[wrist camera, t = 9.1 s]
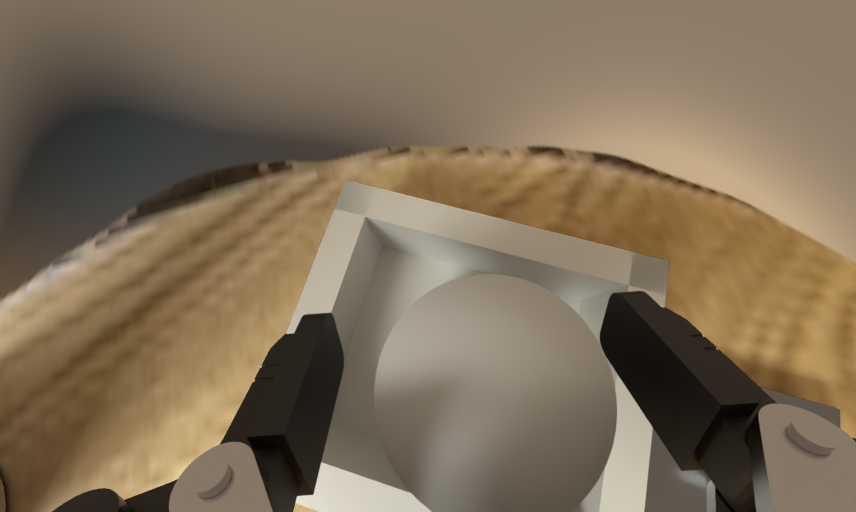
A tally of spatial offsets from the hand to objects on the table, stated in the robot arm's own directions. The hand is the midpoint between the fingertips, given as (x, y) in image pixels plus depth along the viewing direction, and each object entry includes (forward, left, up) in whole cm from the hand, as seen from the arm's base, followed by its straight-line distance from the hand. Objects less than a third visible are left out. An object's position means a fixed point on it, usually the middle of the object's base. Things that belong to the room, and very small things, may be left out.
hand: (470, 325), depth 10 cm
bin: (0, -1, -10) cm, 11 cm away
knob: (+1, -1, -10) cm, 10 cm away
